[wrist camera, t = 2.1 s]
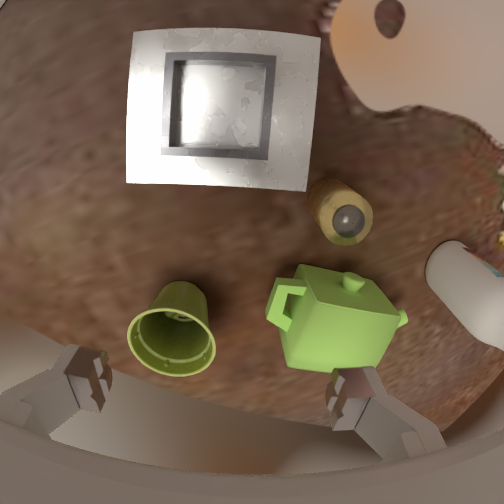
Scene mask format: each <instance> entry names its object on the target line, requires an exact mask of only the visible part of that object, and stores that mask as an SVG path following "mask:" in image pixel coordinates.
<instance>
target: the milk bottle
mask: <svg viewBox="0 0 504 504" xmlns="http://www.w3.org/2000/svg"><path fill="white" fill-rule="evenodd" d="M425 276H426V281H427V283H428V285H429V286H430V287H431V289H432V290H433V291H434V292H435V293H436V294H437V295H438V297H439V298H440V299H441V300H442V301H443V302H444V303H445V305H446V306H447V307H448V308H449V309H450V310H451V311H452V313H453V314H454V315H455V316H456V317H457V318H458V320H459V321H460V322H461V323H462V324H463V325H464V326H465V327H466V329H467V330H468V331H469V332H470V333H471V334H472V335H473V336H474V337H476V338H477V339H479V340H480V341H482V342H484V343H487V344H490V345H493V346H495V347H498V348H500V349H501V350H503V351H504V276H503V275H502V274H501V273H499V272H498V271H497V270H496V269H495V268H493V267H492V266H491V265H490V264H489V263H487V262H486V261H485V260H484V259H482V258H481V257H480V256H479V255H477V254H476V253H475V252H473V251H472V250H471V249H469V248H468V247H467V246H465V245H464V244H462V243H461V242H459V241H447V242H444V243H443V244H441V245H440V246H438V247H437V248H436V249H435V250H434V251H433V253H432V254H431V255H430V257H429V259H428V262H427V265H426V269H425Z"/></svg>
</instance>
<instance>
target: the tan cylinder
mask: <svg viewBox="0 0 504 504" xmlns="http://www.w3.org/2000/svg"><path fill="white" fill-rule="evenodd" d="M307 207H308V209H309V211H310V213H311V214H312V216H313V217H314V219H315V221H316V222H317V224H318V225H319V227H320V228H321V230H322V232H323V233H324V235H325V236H326V238H327V239H328V240H329V241H331V242H332V243H334V244H336V245H340V246H350V245H353V244H356V243H358V242H360V241H361V240H362V239H363V238H365V236H366V235H367V234H368V233H369V231H370V229H371V227H372V223H373V212H372V208H371V206H370V204H369V203H368V202H367V201H366V200H365V199H364V198H363V197H362V196H360V195H359V194H358V193H356V192H355V191H354V190H352V189H351V188H350V187H348V186H347V185H346V184H344V183H343V182H342V181H340V180H338V179H336V178H323V179H320V180H318V181H317V182H315V183H314V184H313V185H312V186H311V188H310V189H309V191H308V194H307Z"/></svg>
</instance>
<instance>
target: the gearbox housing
mask: <svg viewBox="0 0 504 504" xmlns="http://www.w3.org/2000/svg"><path fill="white" fill-rule="evenodd" d="M320 42H321V38H318V37H312V36H306V35H299V34H292V33H284V32H275V31H265V30H252V29H235V28H177V29H160V30H147V31H137V32H134V33H133V42H132V51H131V61H130V73H129V87H128V105H127V140H126V166H127V183H166V184H196V185H218V186H236V187H252V188H266V189H279V190H291V191H302V192H306V187H307V179H308V170H309V162H310V153H311V144H312V134H313V125H314V115H315V104H316V93H317V82H318V69H319V56H320Z"/></svg>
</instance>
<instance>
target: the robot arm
mask: <svg viewBox="0 0 504 504" xmlns="http://www.w3.org/2000/svg"><path fill="white" fill-rule="evenodd" d="M5 1H6V0H0V8H1V6H2V5H3V4H4V2H5ZM108 360H109V358H108V355H107V352H106V351H103V350H98V349H94V348H89V347H84V346H79V345H74V344H69V345H67V347H66V348H65V350H64V351H63V353H62V354H61V356H60V357H59V359H58V360H57V362H56V363H55V365H54V366H53V368H52V369H51V370H46V371H44V372H42V373H40V374H38V375H36V376H34V377H32V378H30V379H28V380H26V381H24V382H22V383H20V384H18V385H16V386H14V387H12V388H10V389H8V390H6V391H4V392H2V394H1V395H0V504H504V427H503V428H501V429H498V430H496V431H493V432H491V433H488V434H486V435H483V436H481V437H478V438H475V439H473V440H470V441H467V442H464V443H461V444H458V445H455V446H452V447H448V448H447V446H446V444H445V442H444V440H443V438H442V436H441V434H440V432H439V430H438V428H437V426H436V425H435V424H434V423H432V422H431V421H429V420H428V419H426V418H424V417H423V416H421V415H420V414H418V413H417V412H415V411H414V410H412V409H411V408H409V407H408V406H406V405H405V404H403V403H402V402H400V401H399V400H398V399H396V398H395V397H393V396H392V395H387V393H386V391H385V389H384V386H383V384H382V382H381V380H380V378H379V376H378V374H377V372H376V370H375V368H374V367H373V366H362V367H345V368H334V369H333V370H332V373H331V379H332V381H331V382H330V383H329V384H328V385H327V388H326V394H325V401H326V406H327V408H328V409H329V410H330V411H331V414H330V417H329V418H330V421H331V425H332V429H333V431H335V430H352V429H355V431H356V432H357V433H358V434H359V435H360V436H361V437H362V438H363V439H364V440H365V441H366V442H367V443H368V444H369V445H370V446H371V447H372V448H373V449H374V450H375V451H376V452H377V453H378V454H379V455H380V456H381V457H382V458H383V461H382V462H381V464H378V465H373V466H367V467H360V468H353V469H346V470H338V471H329V472H318V473H304V474H283V475H240V474H219V473H206V472H196V471H187V470H179V469H171V468H164V467H157V466H152V465H146V464H140V463H136V462H131V461H126V460H122V459H117V458H113V457H108V456H105V455H100V454H97V453H93V452H90V451H86V450H83V449H79V448H76V447H73V446H69V445H66V444H63V443H60V442H57V441H54V440H52V439H51V438H50V436H49V433H51V432H52V431H54V430H55V429H56V428H57V427H59V426H60V425H61V424H63V423H64V422H65V421H67V420H68V419H69V418H70V417H72V416H73V415H74V414H75V413H77V412H78V411H79V410H80V409H83V410H87V411H92V412H97V413H100V412H101V410H102V408H103V405H104V403H105V397H104V395H105V394H106V393H108V392H109V391H110V388H111V385H112V371H111V368H110V367H109V366H108V365H107V362H108Z"/></svg>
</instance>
